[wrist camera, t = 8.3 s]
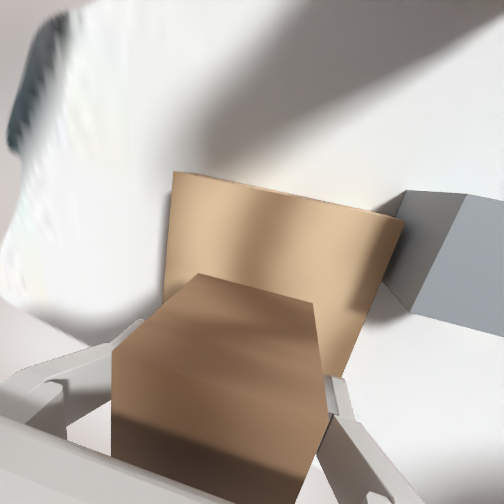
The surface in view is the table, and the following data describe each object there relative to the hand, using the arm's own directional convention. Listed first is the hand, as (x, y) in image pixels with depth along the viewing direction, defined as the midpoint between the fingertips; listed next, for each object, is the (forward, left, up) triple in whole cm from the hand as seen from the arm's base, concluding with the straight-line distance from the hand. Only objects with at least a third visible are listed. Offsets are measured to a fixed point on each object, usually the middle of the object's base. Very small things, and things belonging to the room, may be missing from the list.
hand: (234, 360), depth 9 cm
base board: (0, 0, -8) cm, 8 cm away
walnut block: (0, 0, -2) cm, 2 cm away
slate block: (-9, -5, -8) cm, 13 cm away
